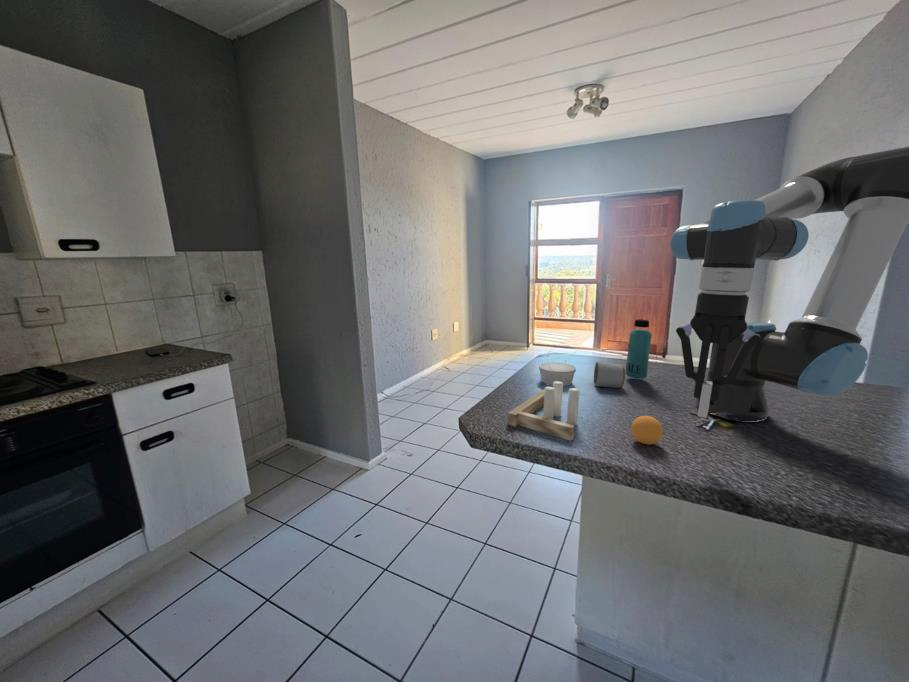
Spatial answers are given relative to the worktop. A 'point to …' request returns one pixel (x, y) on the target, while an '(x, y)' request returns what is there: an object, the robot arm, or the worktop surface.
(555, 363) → the ramekin
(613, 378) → the ceramic mug
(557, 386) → the pin
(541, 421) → the triangular peg stand
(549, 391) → the pin
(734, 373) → the robot arm
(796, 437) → the worktop surface
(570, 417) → the front pin
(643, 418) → the ball
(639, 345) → the beverage bottle
